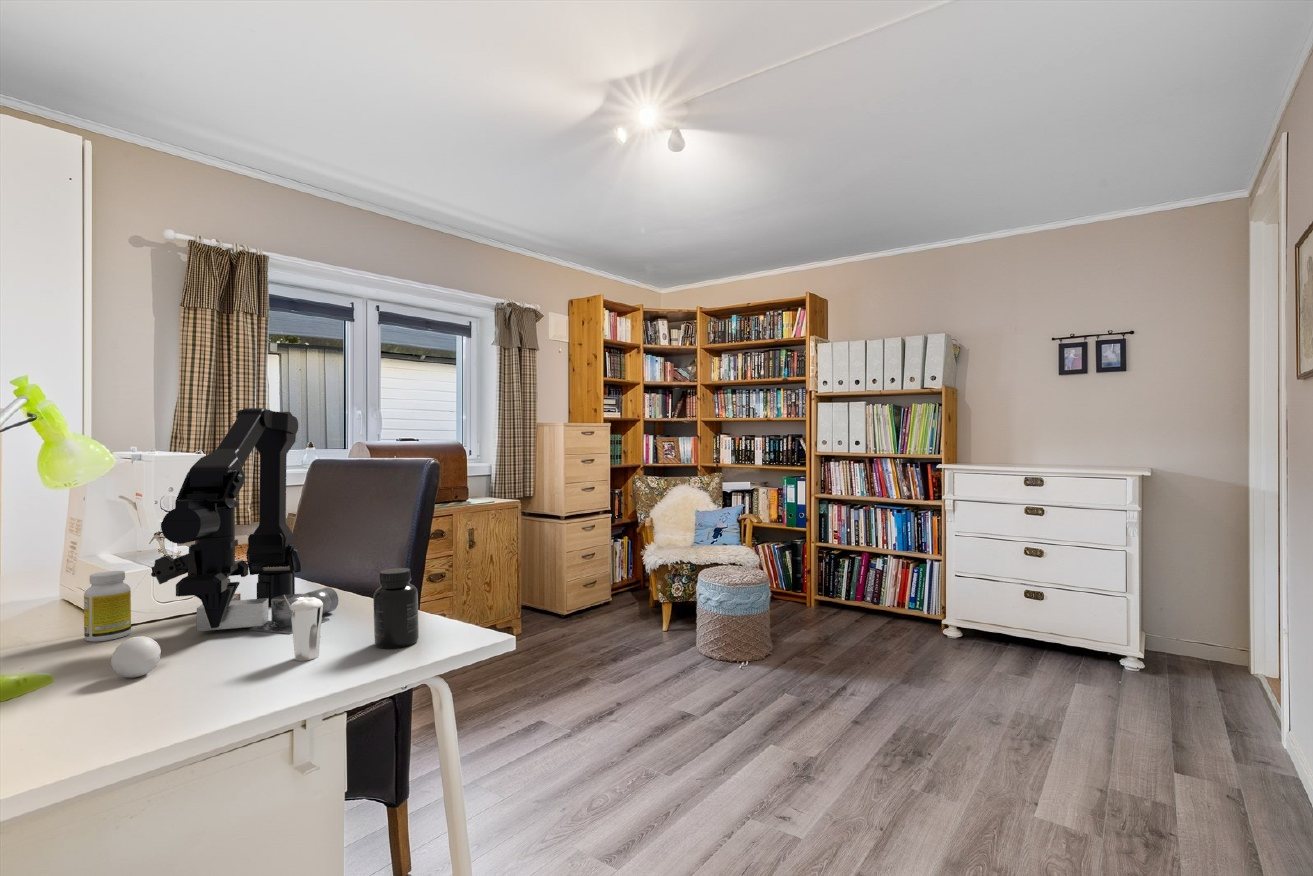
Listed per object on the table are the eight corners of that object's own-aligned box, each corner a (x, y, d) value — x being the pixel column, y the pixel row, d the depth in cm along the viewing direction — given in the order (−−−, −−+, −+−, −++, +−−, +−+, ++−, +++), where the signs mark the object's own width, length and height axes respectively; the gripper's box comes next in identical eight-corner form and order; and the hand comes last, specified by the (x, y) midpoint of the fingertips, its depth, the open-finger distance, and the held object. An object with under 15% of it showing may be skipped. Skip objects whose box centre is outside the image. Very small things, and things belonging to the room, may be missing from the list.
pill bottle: (140, 632, 115) (140, 569, 115) (107, 643, 109) (107, 577, 109) (108, 631, 116) (108, 569, 116) (74, 642, 109) (73, 576, 109)
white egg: (162, 677, 93) (162, 637, 93) (110, 687, 89) (110, 646, 89) (160, 663, 99) (160, 626, 99) (112, 671, 95) (111, 633, 95)
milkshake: (287, 655, 101) (286, 591, 102) (325, 651, 103) (324, 588, 103) (281, 665, 97) (280, 598, 97) (321, 660, 99) (320, 594, 99)
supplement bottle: (408, 634, 112) (407, 564, 112) (425, 643, 107) (425, 570, 107) (367, 643, 107) (366, 570, 107) (383, 652, 102) (383, 576, 103)
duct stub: (309, 610, 128) (309, 585, 128) (347, 614, 126) (347, 588, 126) (249, 630, 115) (249, 602, 115) (290, 634, 113) (289, 605, 113)
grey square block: (276, 612, 125) (275, 590, 125) (262, 626, 115) (262, 602, 115) (214, 617, 121) (214, 595, 121) (196, 632, 112) (195, 607, 112)
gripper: (178, 533, 118) (177, 619, 117) (136, 546, 100) (135, 648, 100) (248, 529, 122) (249, 613, 121) (220, 541, 104) (220, 639, 104)
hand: (215, 627), depth 111 cm, fingers closed
